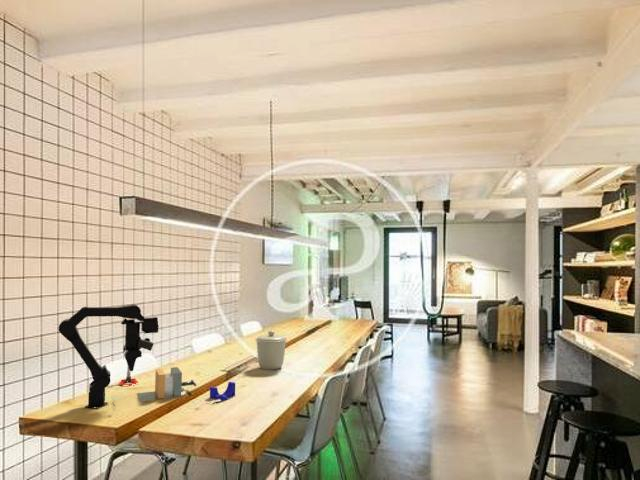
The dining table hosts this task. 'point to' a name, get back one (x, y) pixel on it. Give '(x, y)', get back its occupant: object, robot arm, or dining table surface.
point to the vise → (176, 389)
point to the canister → (271, 350)
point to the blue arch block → (227, 394)
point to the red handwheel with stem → (128, 379)
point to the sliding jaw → (160, 383)
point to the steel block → (169, 384)
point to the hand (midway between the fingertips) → (131, 370)
